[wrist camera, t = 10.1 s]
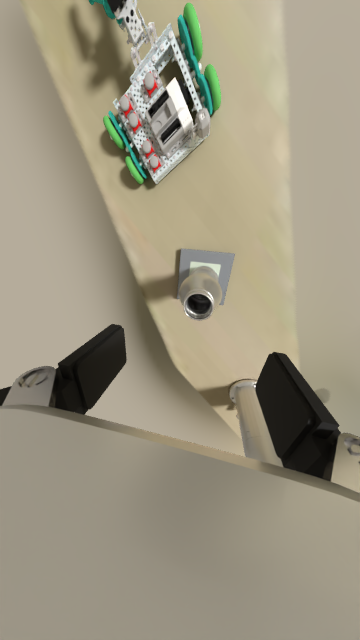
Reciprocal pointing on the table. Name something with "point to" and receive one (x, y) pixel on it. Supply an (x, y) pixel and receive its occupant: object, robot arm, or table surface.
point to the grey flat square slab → (206, 258)
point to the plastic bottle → (200, 293)
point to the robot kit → (161, 93)
